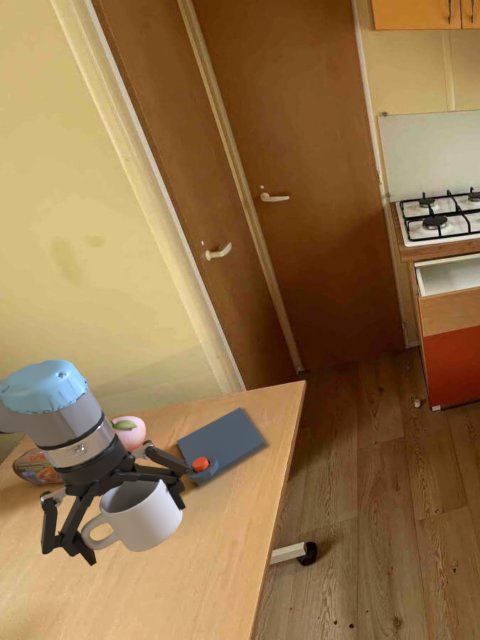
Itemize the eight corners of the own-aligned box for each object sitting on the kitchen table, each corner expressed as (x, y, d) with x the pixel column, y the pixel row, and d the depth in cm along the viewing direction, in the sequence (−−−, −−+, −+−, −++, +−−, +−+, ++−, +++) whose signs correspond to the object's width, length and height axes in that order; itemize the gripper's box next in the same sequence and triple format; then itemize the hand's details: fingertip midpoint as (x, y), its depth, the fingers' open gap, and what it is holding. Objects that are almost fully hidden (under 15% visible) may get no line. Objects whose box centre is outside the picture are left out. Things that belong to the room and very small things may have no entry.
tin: (23, 485, 92) (1, 460, 88) (36, 472, 95) (15, 447, 91) (97, 479, 93) (79, 454, 89) (107, 466, 96) (90, 441, 92)
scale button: (197, 474, 91) (194, 469, 91) (193, 467, 93) (190, 462, 92) (210, 466, 93) (208, 461, 92) (207, 459, 95) (204, 454, 94)
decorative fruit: (160, 431, 105) (144, 402, 100) (145, 459, 98) (127, 429, 93) (116, 439, 102) (97, 410, 98) (96, 469, 95) (75, 439, 91)
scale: (195, 491, 91) (190, 482, 89) (174, 446, 101) (170, 438, 99) (267, 447, 101) (263, 438, 99) (241, 410, 111) (238, 402, 109)
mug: (175, 495, 83) (154, 459, 77) (189, 525, 78) (168, 487, 73) (94, 545, 74) (65, 508, 69) (105, 581, 70) (74, 544, 64)
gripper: (-35, 524, 55) (46, 607, 65) (184, 415, 71) (222, 495, 81) (-34, 487, 59) (42, 570, 69) (172, 393, 76) (210, 471, 85)
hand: (139, 530), depth 75 cm, fingers closed on mug, 12 cm apart
